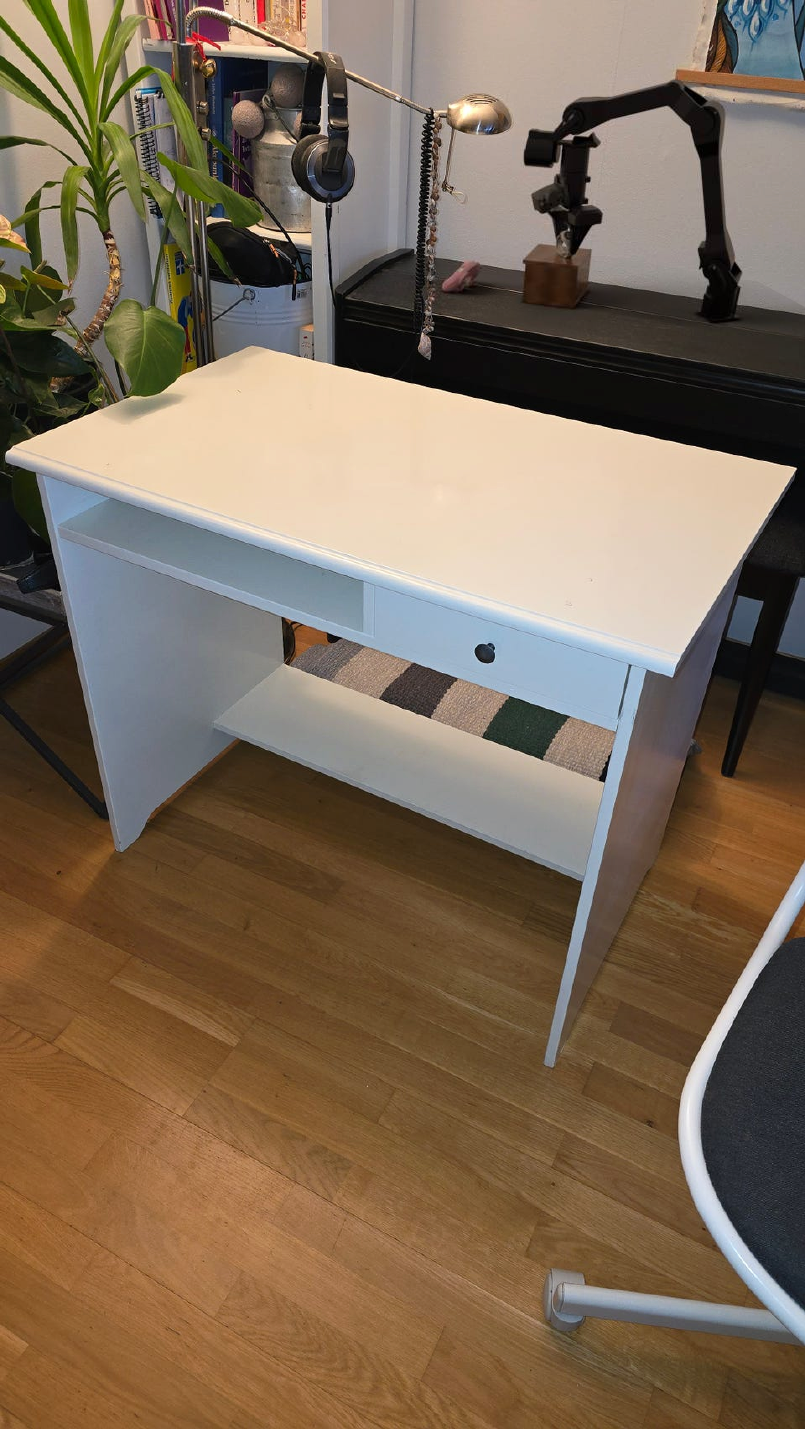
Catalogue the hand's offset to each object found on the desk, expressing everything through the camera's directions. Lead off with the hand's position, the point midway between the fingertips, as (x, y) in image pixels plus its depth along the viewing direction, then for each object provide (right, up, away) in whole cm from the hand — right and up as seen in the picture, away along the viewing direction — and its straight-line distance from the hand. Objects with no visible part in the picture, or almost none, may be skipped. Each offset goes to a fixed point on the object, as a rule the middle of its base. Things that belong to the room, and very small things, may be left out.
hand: (565, 250), depth 214 cm
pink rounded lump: (-22, -3, +11) cm, 25 cm away
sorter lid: (-2, -1, +2) cm, 2 cm away
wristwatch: (0, -1, +1) cm, 1 cm away
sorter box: (-1, -7, +7) cm, 10 cm away
